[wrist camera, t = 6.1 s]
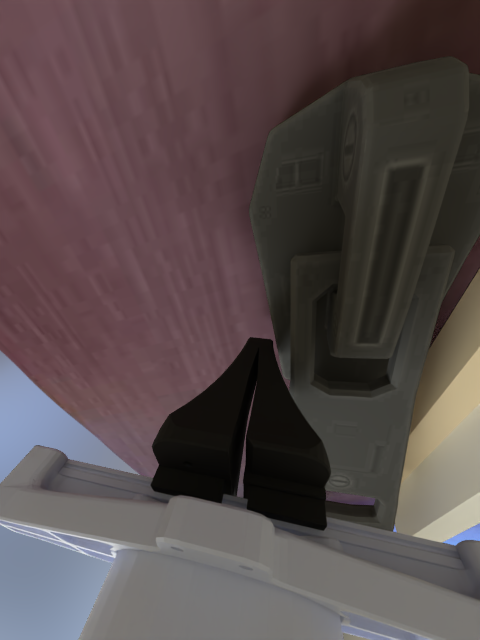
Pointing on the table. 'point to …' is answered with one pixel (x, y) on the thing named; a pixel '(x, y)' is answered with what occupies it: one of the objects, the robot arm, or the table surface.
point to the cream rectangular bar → (446, 432)
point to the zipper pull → (367, 258)
